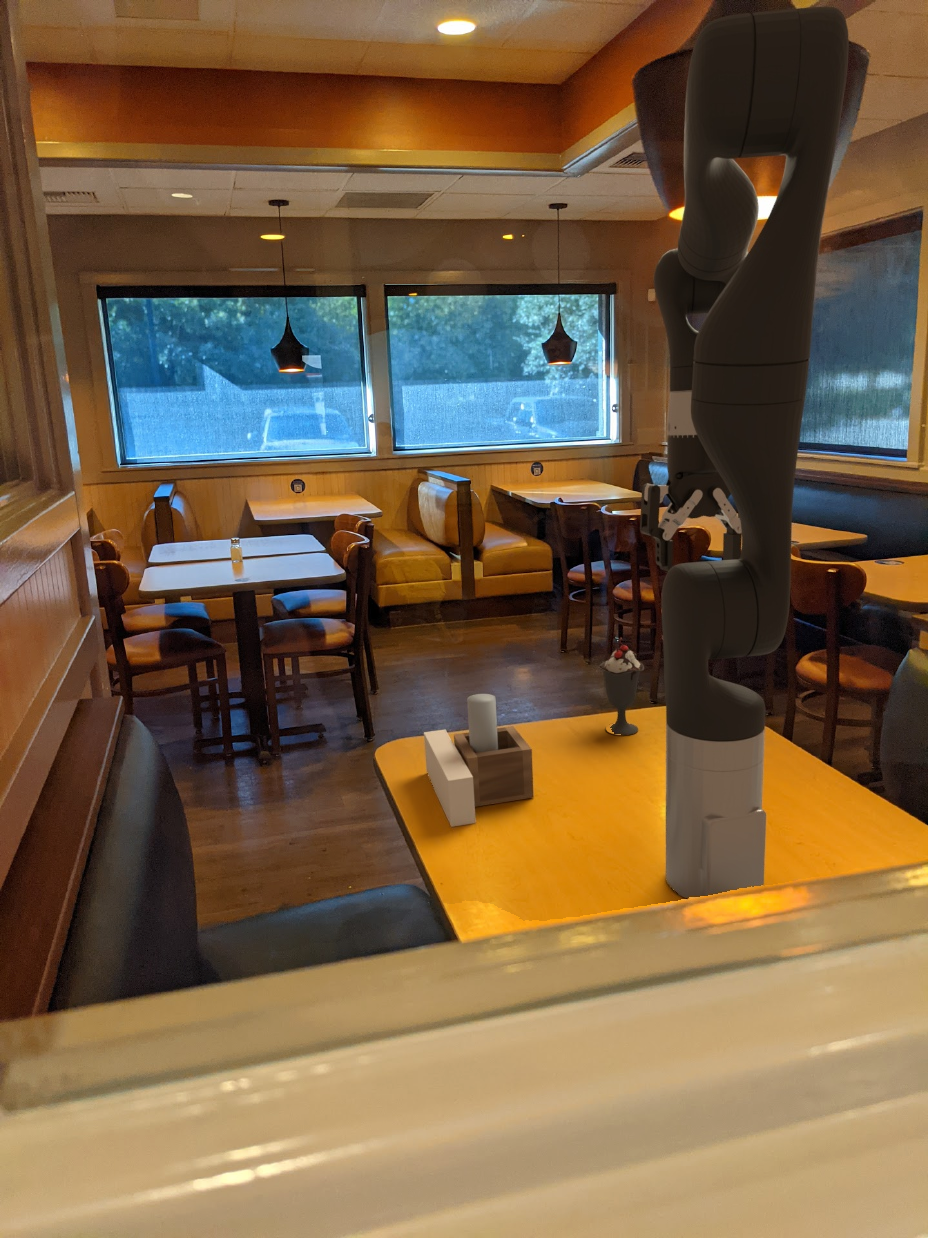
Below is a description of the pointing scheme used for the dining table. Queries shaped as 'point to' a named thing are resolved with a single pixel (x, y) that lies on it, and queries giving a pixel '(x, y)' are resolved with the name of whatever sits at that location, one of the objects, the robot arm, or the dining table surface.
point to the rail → (450, 778)
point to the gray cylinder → (482, 722)
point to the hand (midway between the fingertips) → (698, 566)
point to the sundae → (622, 685)
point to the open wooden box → (499, 768)
